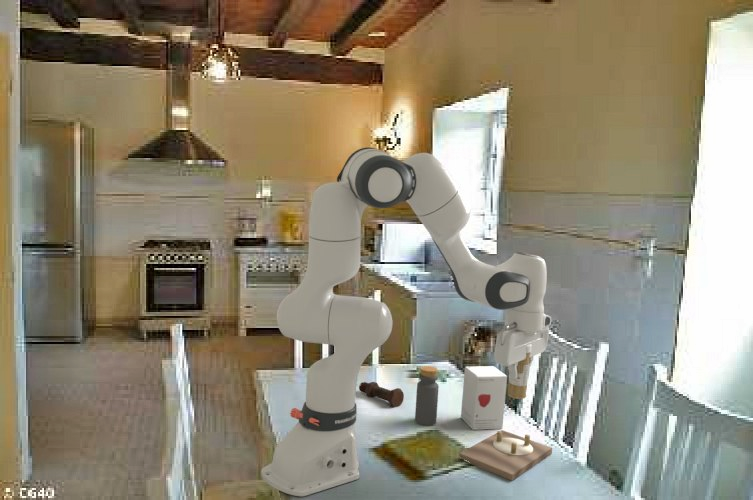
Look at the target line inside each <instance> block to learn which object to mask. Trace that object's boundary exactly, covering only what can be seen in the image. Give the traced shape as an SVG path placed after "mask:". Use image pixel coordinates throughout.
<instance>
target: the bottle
mask: <svg viewBox="0 0 753 500" xmlns="http://www.w3.org/2000/svg"><path fill="white" fill-rule="evenodd" d="M419 369H420V373H419V375H418V379H420V381H418V382H417V384H416V394H415V395H416V397H415V415H414V421H415V423H416V424H418V425H421V426H427V427H428V426H429V427H430V426H434V425H436V424H437V415H438V402H439V400H438V399H439V387H440V386H439V384H438V382H436V381H438V378H439V375H438V368H437V367H435V366H430V365H424V366H423V365H422V366H420V368H419Z"/></svg>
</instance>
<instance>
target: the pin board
mask: <svg viewBox="0 0 753 500" xmlns="http://www.w3.org/2000/svg"><path fill="white" fill-rule="evenodd" d="M552 454H553V447H552V446H548V445H546V444H542V443H540V442H537V441H534V440H531V435H530V434H524V437H523V436H520V435H518V434H514V433H511V432H509V431H506V430H504V429H501V430H498V431H497V432H496V433H494V434H492V435H490V436H489V437H487V438H485V439H483V440H481V441H479V442H477V443H476V444H474V445H472V446H471V447H468V448H466V449H465V450H462V451H461V452H459V456H460V457H461V458H463V459H465V460H467V461H469V462H470V463H471V464H470V463H469V464H470V465H472V466H475V467H477V468H479V469H482V470H484V471H487V472H490V473H491V474H494V475H497V476H499V477H502V478H504V479H506V480H508V481H514V480H516V479H517V478H519V477H520V476H521V475H523V474H525V473H526V472H527V471H529V470H531V469H532V468H533V467H535V466H536V465H538V464H539V463H540V462H542V461H543V460H545V459H546V458H548V457H549V456H550V455H552ZM459 456H458V457H459Z"/></svg>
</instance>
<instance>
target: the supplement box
mask: <svg viewBox="0 0 753 500" xmlns="http://www.w3.org/2000/svg"><path fill="white" fill-rule="evenodd" d="M463 375H464V376H463V387H462V399H461V411H460V418H461V419H462V420H463V421H464V422H465V423H466V425H467V426H468V427H470V428H471V429H472V430H473V431H478V430H479V431H481V430H497V429H498V430H500V429H501V430H503V426H504V415H505V405H506V392H507V379H508V375H506V374H505V373H504V372H502V371H501V370H500V369H498V368H497V367H495V366H493V365H489V366H486V365H485V366H483V365H482V366H479V365H478V366H477V365H476V366H465V367H464V374H463Z"/></svg>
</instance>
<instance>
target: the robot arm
mask: <svg viewBox="0 0 753 500" xmlns="http://www.w3.org/2000/svg"><path fill="white" fill-rule="evenodd" d="M404 202H406V203H407V204H409V206H410V207H411V209H412V211H413V212H414V213H415V215H416V216H417V218H418V220H419V221H420V222H421V224H422V225H423V227H424V228H425V229H426V230H427V232H428V234H429V235H430V237H431V239H432V241H433V243H434V244H435V246H436V247H437V249H438V251H439V253H440V254H441V256H442V258H443V259H444V261H445V263H446V265H447V266H448V268H449V270H450V272H451V276H452V281H453V286H454V289H455V291H456V294H457V295H458V296H459V297H460V298H462V299H463V300H465V301H469V302H474V303H477V304H479V305H482V306H485V307H487V308H489V309H493V310H499V311H501V310H502V311H503V310H505V316H504V326H503V328H502V330H501V331H500V332H499V333H498V335H497V337H496V339H495V347H494V354H493V360H494V363H495V364H497V365H501V366H503V367H507V369H508V379H509V378H510V379H517V378H518V374H519V371H517V367H516V366H518V362H519V361H522V360H524V359H525V358H526V354H527V353H526V346H527V345H530V344H531V352H530V358H529V371H528V374H530V372H531V371H530V370H531V365H532V363H533V361H534V356H536V355H540V354H542V353H544V352H545V351H546V349H547V346H548V341H549V332H550V325H551V324H552V316H550V315H548V314H546V313H544V312H545V305H544V298H545V295H546V291H547V277H548V275H547V274H548V273H547V272H548V270H547V263H546V262H545V259H543V258H542V257H541V256H538V255H534V254H531V253H530V254H529V253H526V252H520V251H519V252H518V251H517V252H514V253H513V254H512V256H510V258H509V259H507V260H506V261H504V262H502V263H500V264H497V265H492V264H488V263H485V262H482V261H480V260H479V259H477V258H476V257H475V256H474V255H473V254H472V253H471V251H470V249H469V247H468V245H467V243H466V242H465V240H464V238H463V236H462V235H461V231H462V230H463V229H464V228H465V227H466V226H467V224H468V222H469V219H470V215H471V207H470V205H469V202H468V200H467V197H466V195H465V194H464V193H463V190H462V189H461V187H460V186H459V185H458V183H457V181H456V180H455V179H454V178H453V176H452V175H451V173H450V172H449V171H448V169H446V167H445V166H444V165H443V164H442V163H441V162H440V160H438V159H437V158H436V157H435V156H434V155H432V154H431V153H428V152H420V153H419V152H418V153H414V154H413V155H411V156H409V157H408V158H406V159H405V160H402V161H401V160H399V159H397V158H395V157H393V156H392V155H391V154H390V153H388V152H386V151H384V150H381V149H378V148H374V147H361V148H359V149H357V150H355V151H354V152H352V153H351V154H350V156H348V158H347V160H346V161H345V162H344V165H343V167H342V169H341V170H340V172H339V173H338V175H337V178H336V181H334V182H333V181H332V182H327V183H324V184H322V185H320V186H319V187H317V188H316V189H315V190H314V192H313V196H312V200H311V205H310V211H309V220H308V221H309V222H308V254H307V255H308V257H307V267H306V271H305V275H304V277H303V279H302V281H301V282H300V284H299V285H298V287H296V289H294V290H293V291H292V292H291V293H289V294H288V295H286V296H285V297H284V298H283V299H282V301H281V302H280V303H279V305H278V307H277V310H276V323H277V327H278V329H279V331H280V332H281V334H282V335H283V337H286V338H290V339H293V340H296V341H299V342H304V343H313V344H323V345H330V346H334V353H333V354H331V355H329V356H326V357H324V358H321V359H319V360H317V361H314V363H313V364H311V365H310V367H309V368H308V370H307V373H306V388H305V401H304V403H303V406H302V409H301V410H300V409H297V408H296V407H294V408H292V409H291V411H290V413H289V414H290V417H291V418H293V419H296V420H298V422H297V423H296V424H295V426H294V427H292V429H291V430H289V432H288V433H287V434H286V435H285V436H284V437H283V438H282V439H281V441H279V443H278V444H277V445H276V446H275V448H274V450H273V451H274V452H273V454H272V462H270V463H269V464H268V465H265V466H264V467H262V468H261V470H260V476H261V478H262V479H263V480H264V481H265V483H267V484H268V485H269V486H271V487H272V488H275V489H276V490H278V491H280V492H282V493H284V494H288V495H290V496H296V497H306V496H309V495H313V494H315V493H318V492H321V491H322V492H323V491H325V490H328V489H331V488H334V487H337V486H340V485H344V484H346V483H350V482H353V481H355V480H358V479H359V478H360V471H359V467H360V461H359V459H358V458H359V457H358V453H357V452H358V451H357V440H356V439H357V438H356V431H355V430H356V429H355V423H356V421H357V415H358V413H357V410H358V409H357V403H356V392H357V391H356V390H357V385H358V384H357V383H358V376H359V372H360V370H361V367H362V364H363V363H364V361H365V360H366V359H367V357H368V356H369V355H370V354H371V353H372V352H373V351H374V350H376V349H378V348H379V347H381V346H382V345H383V344H385V342H387V340H388V339H389V337H390V335H391V333H392V331H393V330H392V329H393V325H394V324H393V316H392V313H391V310H390V309H389V307H388V305H387V304H386V303H385V302H382V301H379V300H376V299H372V298H369V297H365V296H352V295H351V296H350V295H340V294H335V293H334V287H335V286H337V285H340V284H342V283H345V282H348V281H349V280H350V279H353V278H354V277H355V276H356V275H357V274H358V272H359V271H360V269H361V268H360V267H361V247H362V245H361V241H362V240H361V239H362V237H361V236H362V229H361V228H362V225H361V224H362V223H361V221H362V217H363V213H364V211H365V209H366V208H367V207H371V208H375V209H387V208H391V207H393V206H397V205H398V204H400V203H404Z"/></svg>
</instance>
